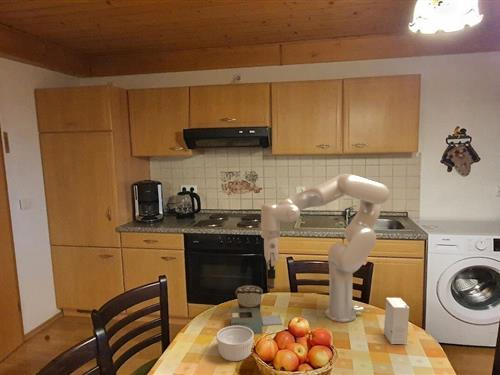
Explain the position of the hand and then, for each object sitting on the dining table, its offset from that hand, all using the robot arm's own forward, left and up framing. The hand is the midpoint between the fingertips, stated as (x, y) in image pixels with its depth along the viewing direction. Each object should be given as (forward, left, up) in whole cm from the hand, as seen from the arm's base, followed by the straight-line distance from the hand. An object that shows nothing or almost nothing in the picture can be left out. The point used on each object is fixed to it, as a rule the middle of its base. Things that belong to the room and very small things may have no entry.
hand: (270, 276), depth 148 cm
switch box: (+11, +4, -19) cm, 22 cm away
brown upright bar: (0, 0, -5) cm, 5 cm away
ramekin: (+16, +22, -19) cm, 33 cm away
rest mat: (0, 0, -19) cm, 19 cm away
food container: (+8, -12, -19) cm, 24 cm away
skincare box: (-44, +20, -19) cm, 52 cm away
